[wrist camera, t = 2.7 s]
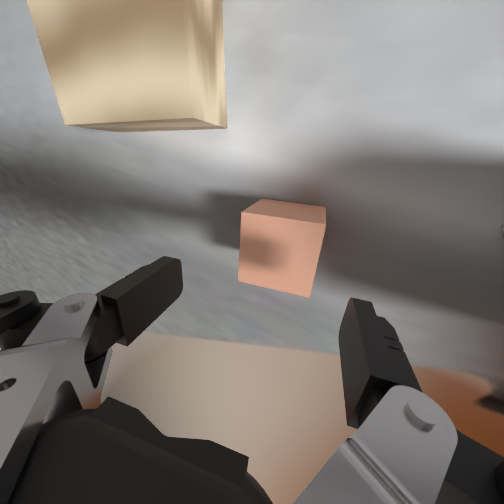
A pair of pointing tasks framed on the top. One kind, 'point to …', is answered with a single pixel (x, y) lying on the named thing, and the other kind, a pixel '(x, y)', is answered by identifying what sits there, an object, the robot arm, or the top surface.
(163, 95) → the birch block
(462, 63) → the top surface
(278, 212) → the terracotta cube
